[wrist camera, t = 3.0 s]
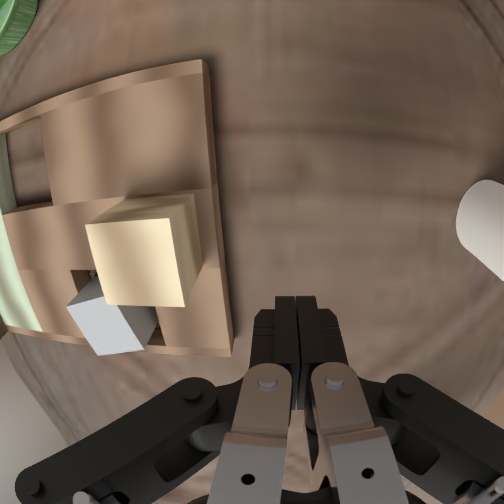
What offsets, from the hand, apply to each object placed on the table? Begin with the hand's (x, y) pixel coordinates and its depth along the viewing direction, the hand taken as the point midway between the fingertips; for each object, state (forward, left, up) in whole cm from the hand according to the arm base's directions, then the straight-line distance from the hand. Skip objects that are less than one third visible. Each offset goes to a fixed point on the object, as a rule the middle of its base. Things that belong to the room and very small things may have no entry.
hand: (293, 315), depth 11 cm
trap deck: (+20, 0, -13) cm, 24 cm away
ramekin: (+26, -24, -13) cm, 38 cm away
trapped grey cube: (+15, +7, -13) cm, 21 cm away
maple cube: (+9, 0, -11) cm, 14 cm away
